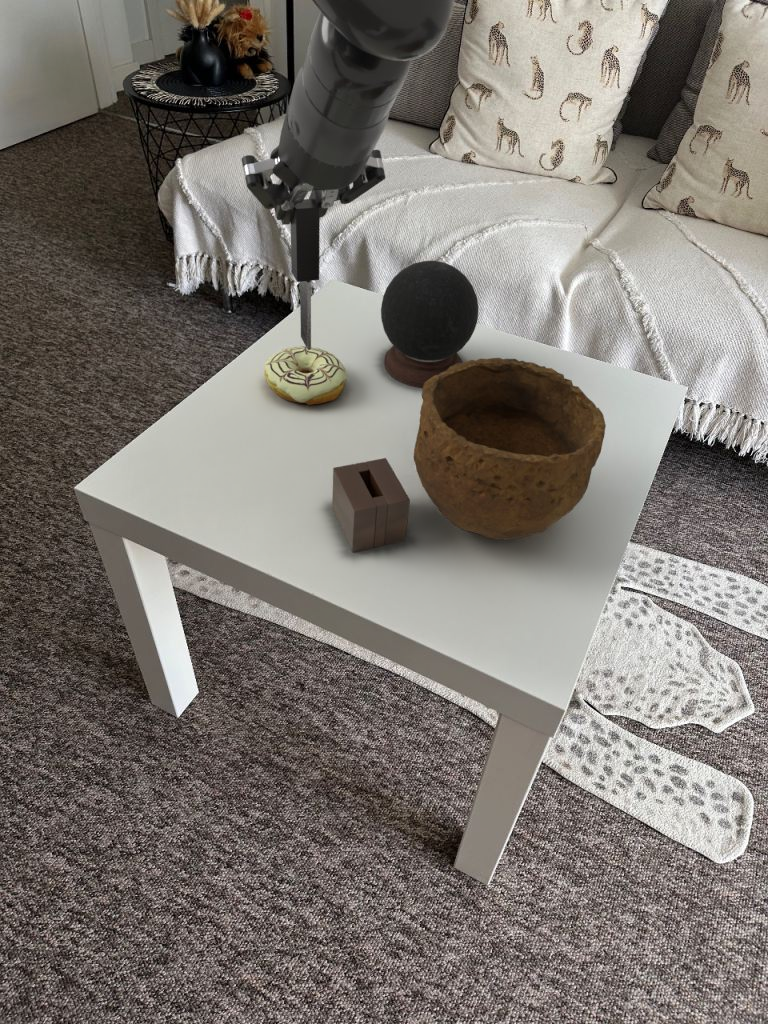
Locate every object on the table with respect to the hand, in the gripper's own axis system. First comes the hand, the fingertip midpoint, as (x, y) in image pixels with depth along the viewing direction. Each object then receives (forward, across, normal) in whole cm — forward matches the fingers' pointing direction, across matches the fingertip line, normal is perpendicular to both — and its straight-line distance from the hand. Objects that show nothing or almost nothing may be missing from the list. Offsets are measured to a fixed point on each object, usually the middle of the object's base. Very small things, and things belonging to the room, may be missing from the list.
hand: (297, 214), depth 73 cm
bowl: (+2, -16, +34) cm, 38 cm away
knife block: (+4, -2, +33) cm, 33 cm away
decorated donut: (+23, -2, +14) cm, 27 cm away
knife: (+8, 0, +11) cm, 14 cm away
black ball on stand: (+24, -20, +13) cm, 34 cm away
